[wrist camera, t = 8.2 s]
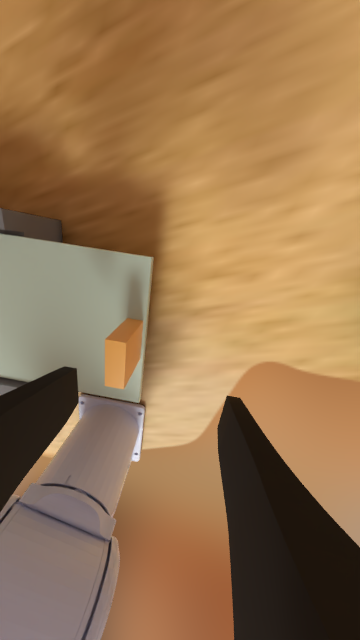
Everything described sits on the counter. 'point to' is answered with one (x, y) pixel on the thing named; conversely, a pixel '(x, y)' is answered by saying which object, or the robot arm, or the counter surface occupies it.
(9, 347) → the lid
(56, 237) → the parts tub
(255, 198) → the counter surface
